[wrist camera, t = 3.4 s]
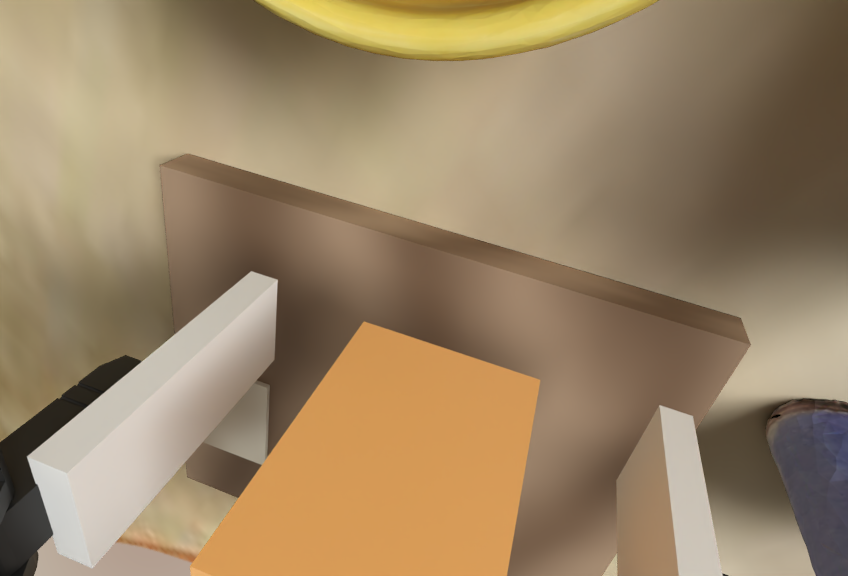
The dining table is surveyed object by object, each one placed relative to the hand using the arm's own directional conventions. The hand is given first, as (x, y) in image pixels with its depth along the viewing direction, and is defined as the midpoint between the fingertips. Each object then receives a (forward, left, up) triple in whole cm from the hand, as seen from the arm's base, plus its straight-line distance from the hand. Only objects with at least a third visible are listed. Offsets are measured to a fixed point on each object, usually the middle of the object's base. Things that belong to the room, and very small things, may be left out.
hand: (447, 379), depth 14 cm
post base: (-2, -8, -6) cm, 10 cm away
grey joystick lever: (0, -6, +1) cm, 6 cm away
